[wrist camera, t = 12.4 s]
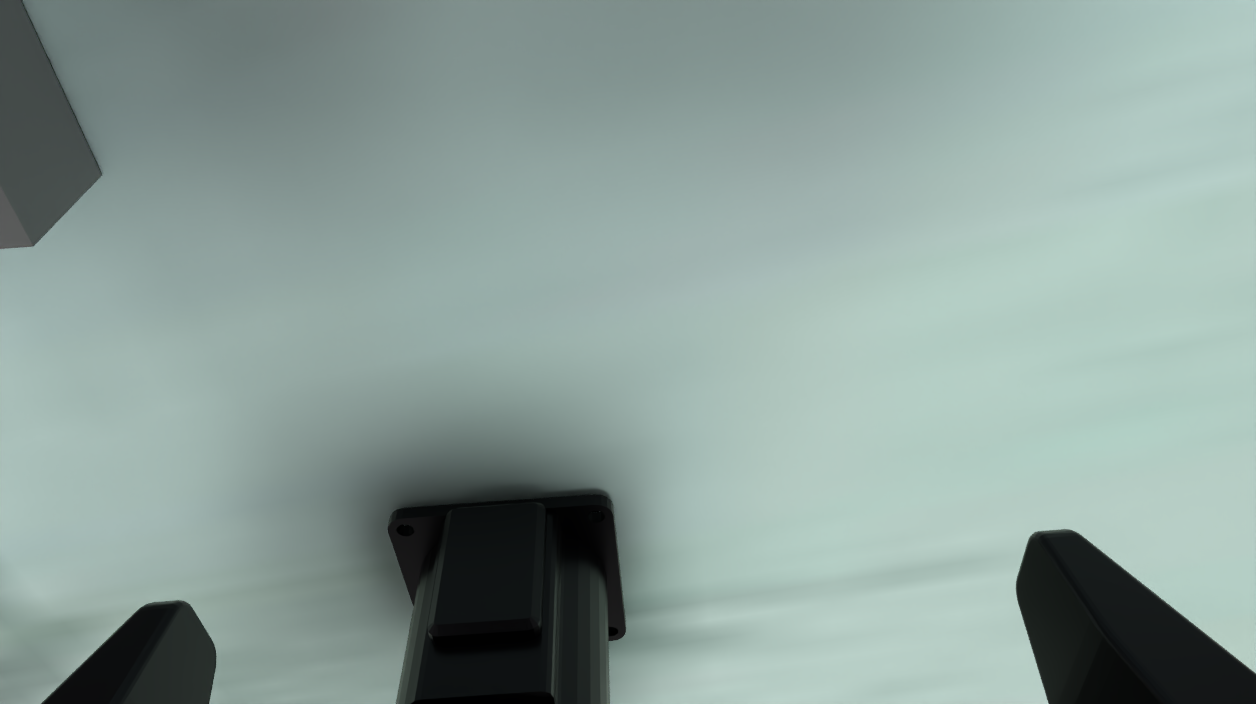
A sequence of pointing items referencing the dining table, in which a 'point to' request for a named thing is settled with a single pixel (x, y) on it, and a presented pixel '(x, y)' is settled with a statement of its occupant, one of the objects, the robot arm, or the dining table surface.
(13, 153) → the socket block
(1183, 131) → the dining table surface
